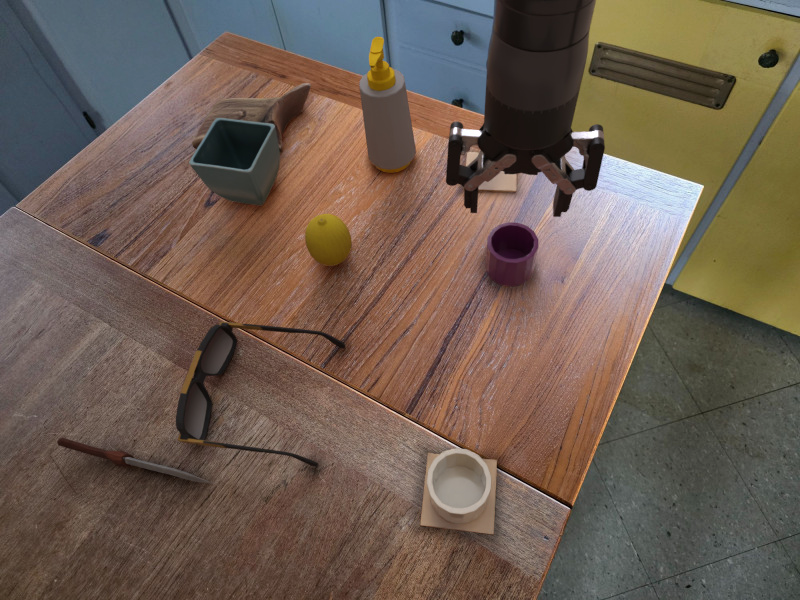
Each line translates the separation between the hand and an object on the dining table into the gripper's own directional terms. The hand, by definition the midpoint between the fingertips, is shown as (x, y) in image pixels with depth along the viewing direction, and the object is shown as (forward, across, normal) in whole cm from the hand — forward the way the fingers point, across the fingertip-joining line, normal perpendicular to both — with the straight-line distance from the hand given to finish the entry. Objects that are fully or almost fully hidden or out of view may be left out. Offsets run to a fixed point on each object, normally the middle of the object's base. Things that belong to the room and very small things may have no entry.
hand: (515, 208), depth 58 cm
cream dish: (+11, -4, -27) cm, 29 cm away
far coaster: (+11, -3, +16) cm, 20 cm away
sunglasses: (+12, -26, -19) cm, 34 cm away
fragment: (+12, -38, +24) cm, 47 cm away
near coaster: (+11, -4, -27) cm, 29 cm away
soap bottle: (+12, -17, +18) cm, 27 cm away
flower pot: (+12, -36, +11) cm, 39 cm away
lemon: (+12, -22, 0) cm, 25 cm away
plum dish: (+11, 0, 0) cm, 11 cm away
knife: (+12, -38, -28) cm, 48 cm away
